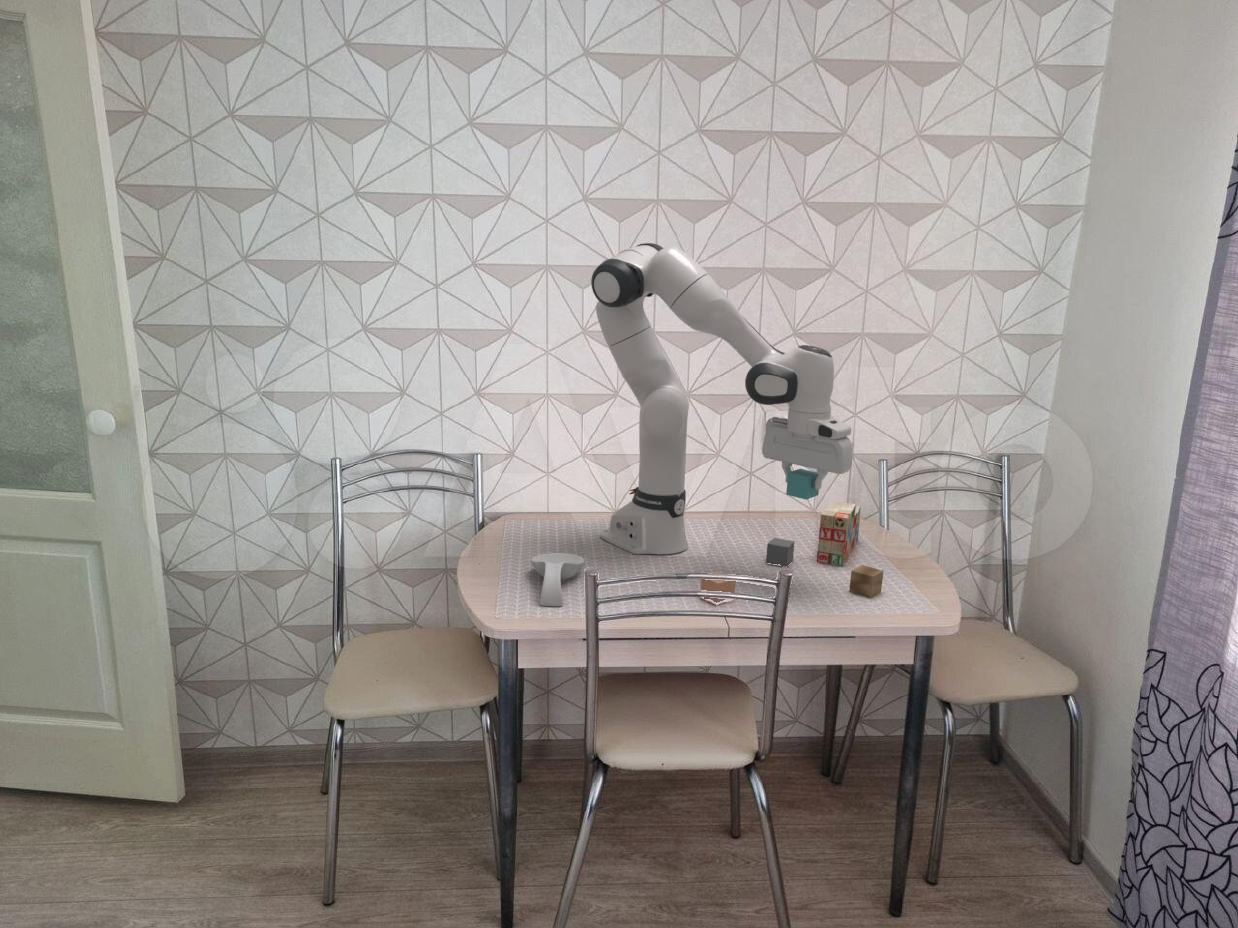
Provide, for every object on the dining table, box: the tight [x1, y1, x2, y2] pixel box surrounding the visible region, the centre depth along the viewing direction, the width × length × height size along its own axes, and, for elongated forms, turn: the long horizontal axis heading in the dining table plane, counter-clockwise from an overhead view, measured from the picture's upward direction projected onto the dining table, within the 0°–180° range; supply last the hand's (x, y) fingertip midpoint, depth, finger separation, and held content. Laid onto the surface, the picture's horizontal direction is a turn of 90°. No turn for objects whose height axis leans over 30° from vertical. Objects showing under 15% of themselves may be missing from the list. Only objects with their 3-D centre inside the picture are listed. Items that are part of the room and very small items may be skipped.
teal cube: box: [785, 468, 820, 501], centre depth 194 cm, size 5×5×5 cm
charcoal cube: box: [765, 537, 795, 568], centre depth 211 cm, size 5×5×5 cm
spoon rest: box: [530, 552, 585, 607], centre depth 192 cm, size 24×12×7 cm, turn 1°
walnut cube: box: [848, 564, 884, 599], centre depth 194 cm, size 5×5×5 cm
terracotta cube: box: [700, 571, 736, 603], centre depth 188 cm, size 5×5×5 cm
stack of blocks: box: [816, 500, 861, 568], centre depth 219 cm, size 21×6×12 cm, turn 156°
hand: (803, 485), depth 194 cm, fingers closed on teal cube, 5 cm apart
